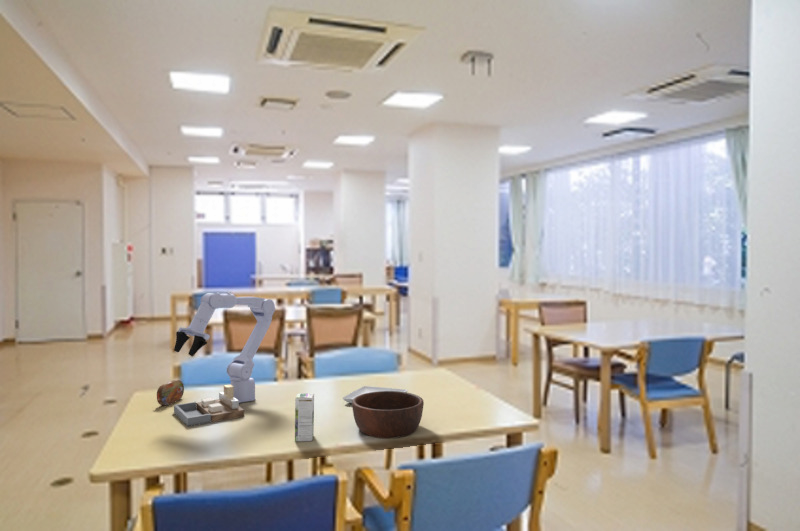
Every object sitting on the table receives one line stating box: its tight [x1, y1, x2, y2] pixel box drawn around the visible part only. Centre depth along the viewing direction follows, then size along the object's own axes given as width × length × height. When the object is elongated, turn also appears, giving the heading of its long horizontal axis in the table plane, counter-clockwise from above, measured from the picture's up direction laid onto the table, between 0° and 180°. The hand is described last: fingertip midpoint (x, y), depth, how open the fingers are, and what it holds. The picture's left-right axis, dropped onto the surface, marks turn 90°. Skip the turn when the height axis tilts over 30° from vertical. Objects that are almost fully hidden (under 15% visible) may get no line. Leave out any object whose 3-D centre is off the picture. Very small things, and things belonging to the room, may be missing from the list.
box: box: [173, 401, 212, 427], centre depth 199 cm, size 8×20×3 cm, turn 36°
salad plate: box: [342, 385, 409, 404], centre depth 222 cm, size 21×21×3 cm
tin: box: [156, 379, 185, 406], centre depth 219 cm, size 15×3×8 cm, turn 168°
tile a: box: [200, 397, 216, 407], centre depth 207 cm, size 4×4×2 cm
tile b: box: [208, 403, 222, 413], centre depth 200 cm, size 4×4×2 cm
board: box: [196, 398, 245, 423], centre depth 205 cm, size 12×20×2 cm, turn 36°
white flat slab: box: [218, 384, 240, 409], centre depth 207 cm, size 2×16×7 cm, turn 36°
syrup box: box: [294, 392, 315, 442], centre depth 177 cm, size 6×6×14 cm
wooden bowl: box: [351, 391, 425, 439], centre depth 187 cm, size 25×25×10 cm
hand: (183, 353), depth 201 cm, fingers open, 7 cm apart
